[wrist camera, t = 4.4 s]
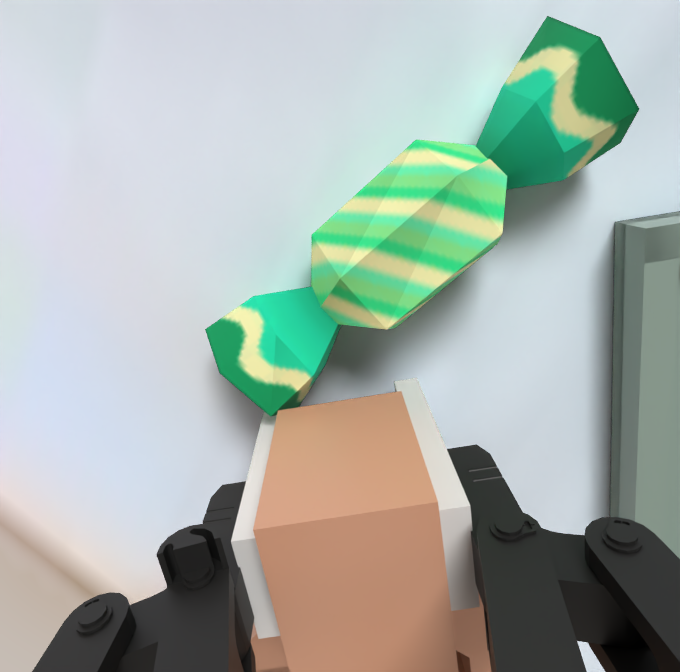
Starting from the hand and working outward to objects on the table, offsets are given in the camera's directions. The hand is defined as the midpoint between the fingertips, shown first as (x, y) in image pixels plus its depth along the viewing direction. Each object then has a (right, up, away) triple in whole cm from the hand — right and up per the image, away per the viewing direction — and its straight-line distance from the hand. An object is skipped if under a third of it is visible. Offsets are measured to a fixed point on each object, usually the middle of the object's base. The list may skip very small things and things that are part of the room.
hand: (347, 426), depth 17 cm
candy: (+2, +6, -1) cm, 7 cm away
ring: (+1, -5, -1) cm, 5 cm away
